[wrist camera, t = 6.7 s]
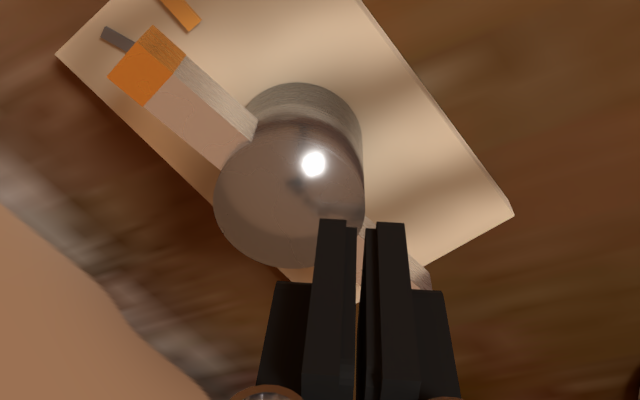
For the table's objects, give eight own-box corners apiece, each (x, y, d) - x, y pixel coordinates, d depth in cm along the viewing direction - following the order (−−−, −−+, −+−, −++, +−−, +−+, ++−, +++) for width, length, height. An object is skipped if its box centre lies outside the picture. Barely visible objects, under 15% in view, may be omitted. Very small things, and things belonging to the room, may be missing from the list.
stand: (508, 199, 31) (516, 218, 30) (330, 300, 36) (329, 321, 34) (257, -140, 23) (251, -138, 22) (67, 43, 28) (51, 56, 26)
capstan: (454, 208, 30) (474, 283, 25) (366, 271, 32) (369, 351, 27) (205, -35, 24) (169, 2, 19) (121, 64, 26) (69, 119, 21)
